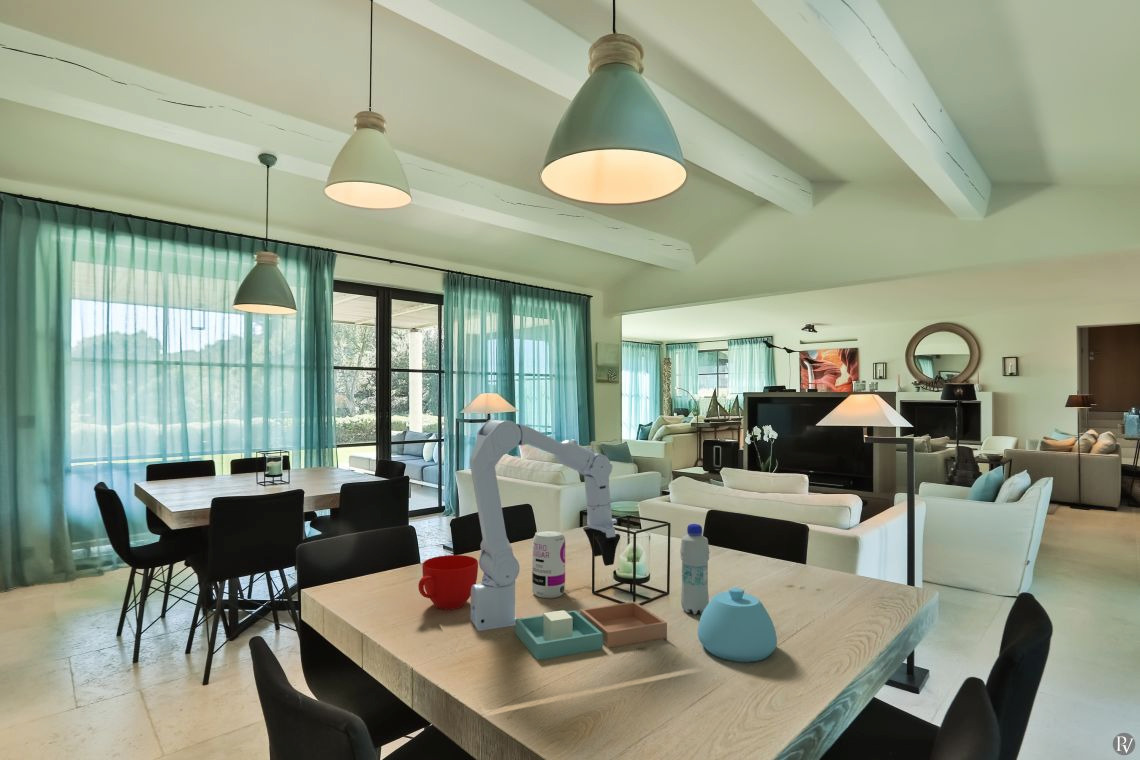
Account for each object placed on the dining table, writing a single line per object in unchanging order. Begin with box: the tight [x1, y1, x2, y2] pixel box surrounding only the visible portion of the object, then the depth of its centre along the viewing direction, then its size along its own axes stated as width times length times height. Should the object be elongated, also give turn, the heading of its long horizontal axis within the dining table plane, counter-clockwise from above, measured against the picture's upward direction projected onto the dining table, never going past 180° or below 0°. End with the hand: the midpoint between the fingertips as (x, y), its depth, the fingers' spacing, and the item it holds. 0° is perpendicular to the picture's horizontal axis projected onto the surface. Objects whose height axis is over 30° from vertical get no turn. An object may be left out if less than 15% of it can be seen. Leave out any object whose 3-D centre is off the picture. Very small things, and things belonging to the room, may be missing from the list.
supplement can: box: [531, 529, 566, 599], centre depth 148 cm, size 8×8×15 cm
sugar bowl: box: [697, 587, 778, 663], centre depth 117 cm, size 15×15×12 cm
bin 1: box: [515, 610, 604, 661], centre depth 118 cm, size 13×13×4 cm
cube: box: [542, 609, 573, 641], centre depth 118 cm, size 4×4×5 cm
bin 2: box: [579, 601, 668, 649], centre depth 124 cm, size 13×13×4 cm
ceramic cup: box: [418, 554, 479, 610], centre depth 138 cm, size 13×17×10 cm
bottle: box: [679, 523, 710, 615], centre depth 137 cm, size 7×7×20 cm
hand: (603, 560), depth 141 cm, fingers open, 7 cm apart
